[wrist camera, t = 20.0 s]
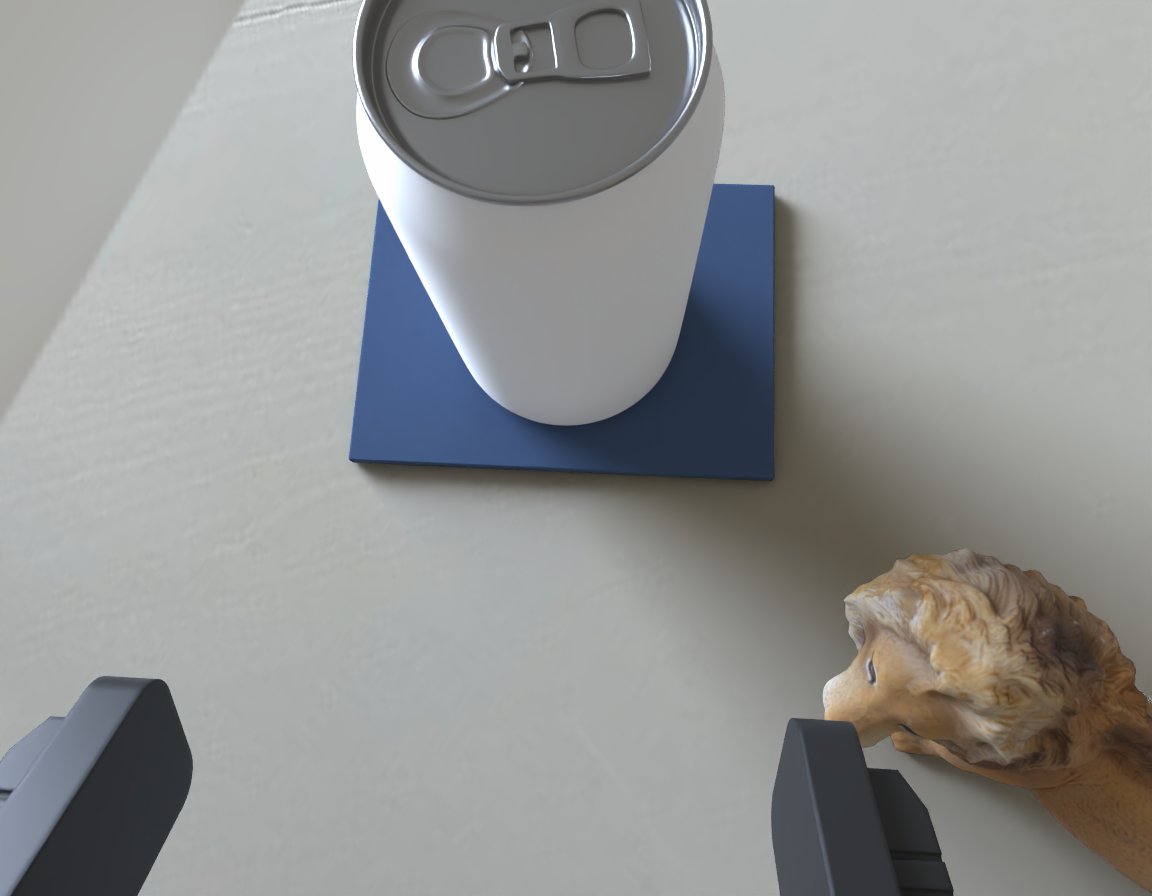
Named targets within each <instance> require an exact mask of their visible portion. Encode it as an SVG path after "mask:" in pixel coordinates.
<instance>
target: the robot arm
mask: <svg viewBox="0 0 1152 896" xmlns="http://www.w3.org/2000/svg"><path fill="white" fill-rule="evenodd" d="M192 770H193V761H192V755H191V751H190V748H189V745H188V742H187V739H186V736H185V733H184V731H183V728H182V725H181V722H180V719H179V716H178V713H177V710H176V707H175V704H174V701H173V699H172V696H171V693H170V690H169V688H168V686H167V684H166V683H165V682H164V681H163V680H160V679H146V678H128V677H111V676H102V677H99V678H97V679H96V680H94V681H93V682H92V683H91V684H90V685H89V686H88V687H87V688H86V690H85V691H84V692H83V694H82V695H81V696H80V698H79V699H78V701H77V702H76V703H75V705H74V706H73V708H72V709H71V711H70V712H69V713H68V715H67V716H66V717H49V718H48V719H47V720H46V721H44V722H43V723H42V724H41V725H39V726H38V727H37V728H36V729H34V730H33V731H32V732H31V733H29V734H28V735H27V736H26V737H24V738H23V739H22V740H20V741H19V742H18V743H17V744H15V745H14V746H13V747H12V748H10V749H9V751H8V752H7V753H6V754H5V756H4V757H3V758H2V760H1V761H0V896H137V895H138V893H139V891H140V889H141V887H142V885H143V884H144V882H145V880H146V878H147V876H148V874H149V872H150V870H151V868H152V866H153V864H154V862H155V860H156V858H157V856H158V854H159V852H160V850H161V848H162V846H163V844H164V842H165V840H166V839H167V837H168V835H169V833H170V831H171V829H172V827H173V825H174V823H175V821H176V819H177V817H178V815H179V813H180V811H181V809H182V807H183V805H184V803H185V801H186V798H187V795H188V792H189V789H190V784H191V779H192ZM771 823H772V839H773V848H774V855H775V862H776V869H777V875H778V882H779V889H780V896H953V891H954V890H953V887H952V884H951V881H950V877H949V874H948V871H947V868H946V865H945V862H942V858H941V854H942V853H941V850H940V847H939V843H938V840H937V837H936V834H935V831H934V828H933V825H932V822H931V819H930V816H929V813H928V809H927V808H926V807H925V805H924V804H923V803H922V801H921V800H920V799H919V797H918V796H917V795H916V793H915V792H914V791H913V789H912V788H911V787H910V786H909V784H908V783H907V782H906V780H905V779H904V778H903V776H902V775H901V774H900V772H899V771H898V770H891V769H874V768H867V766H866V762H865V759H864V755H863V751H862V747H861V744H860V740H859V736H858V733H857V731H856V728H855V726H854V725H853V723H852V722H849V721H833V720H816V719H798V718H791V719H790V720H789V722H788V725H787V729H786V734H785V739H784V743H783V748H782V753H781V757H780V762H779V767H778V771H777V776H776V781H775V785H774V790H773V796H772V810H771Z"/></svg>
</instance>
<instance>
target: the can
mask: <svg viewBox="0 0 1152 896" xmlns="http://www.w3.org/2000/svg"><path fill="white" fill-rule="evenodd" d="M353 68H354V76H355V82H356V86H357V90H358V95H357V131H358V138H359V143H360V148H361V152H362V155H363V158H364V162H365V165H366V168H367V171H368V174H369V176H370V179H371V181H372V183H373V186H374V188H375V190H376V192H377V194H378V196H379V199H380V201H381V203H382V205H383V207H384V209H385V211H386V213H387V215H388V217H389V219H390V221H391V223H392V225H393V227H394V229H395V231H396V233H397V235H398V237H399V239H400V241H401V242H402V244H403V246H404V248H405V250H406V252H407V254H408V256H409V258H410V260H411V262H412V264H413V266H414V268H415V270H416V271H417V273H418V275H419V277H420V279H421V281H422V283H423V285H424V287H425V289H426V291H427V293H428V294H429V296H430V298H431V300H432V302H433V304H434V306H435V308H436V310H437V312H438V314H439V316H440V317H441V319H442V321H443V323H444V325H445V327H446V329H447V331H448V333H449V335H450V336H451V338H452V340H453V342H454V344H455V346H456V348H457V350H458V351H459V353H460V355H461V357H462V359H463V361H464V362H465V364H466V366H467V368H468V369H469V371H470V373H471V374H472V376H473V377H474V379H475V380H476V382H477V383H478V384H479V385H480V387H481V388H482V389H483V390H484V391H485V392H486V393H487V394H488V395H489V396H490V397H491V398H492V399H493V400H495V401H496V402H497V403H499V404H500V405H501V406H503V407H504V408H506V409H508V410H509V411H511V412H513V413H515V414H517V415H519V416H521V417H524V418H526V419H529V420H532V421H536V422H540V423H545V424H551V425H564V426H568V425H582V424H588V423H593V422H597V421H600V420H604V419H607V418H609V417H612V416H614V415H616V414H618V413H620V412H622V411H624V410H626V409H627V408H629V407H631V406H632V405H634V404H635V403H636V402H638V401H639V400H640V399H641V398H643V397H644V396H645V395H646V394H647V393H648V392H649V391H650V390H651V389H652V388H653V387H654V386H655V384H656V383H657V382H658V381H659V379H660V378H661V376H662V375H663V373H664V372H665V370H666V368H667V367H668V365H669V363H670V361H671V358H672V356H673V354H674V351H675V348H676V345H677V341H678V338H679V334H680V330H681V326H682V322H683V318H684V314H685V309H686V305H687V301H688V296H689V292H690V287H691V283H692V279H693V274H694V270H695V265H696V261H697V256H698V252H699V247H700V243H701V238H702V234H703V229H704V225H705V220H706V215H707V211H708V206H709V201H710V197H711V192H712V188H713V183H714V178H715V173H716V168H717V163H718V158H719V153H720V147H721V141H722V135H723V127H724V113H725V94H724V83H723V77H722V71H721V67H720V63H719V60H718V57H717V54H716V51H715V48H714V45H713V34H712V23H711V17H710V12H709V8H708V4H707V1H706V0H363V3H362V5H361V8H360V11H359V15H358V18H357V22H356V27H355V32H354V40H353Z"/></svg>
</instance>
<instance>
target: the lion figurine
mask: <svg viewBox="0 0 1152 896" xmlns="http://www.w3.org/2000/svg"><path fill="white" fill-rule="evenodd" d="M844 602H845V603H846V612H845V614H846V618H847V620H848V621H849V623H850V625H849V635H850V637H851V638H852V639H853V640H854V641H855V643H856V646H857V649H858V652H859V653H858V655H857V656H856V658H855V659H854V660H853V662H852V663H851V664H850V666H849V667H848V668H847V669H846V670H845V671H844V672H843V673H841V674H839V675H837V676H835V677H833V678H832V679H831V680H829V681H828V682H827V683H826V685H825V687H824V690H823V703H824V707H825V715H824V720H833V721H849V722H852V723H853V725H854V726H855V728H856V731H857V733H858V736H859V740H860V744H861V747H869V746H873V745H875V744H877V743H878V742H880V741H881V740H883V739H885V738H886V737H888V736H891V737H892V739H893V744H894V747H895V748H896V749H897V750H899V751H903V752H908V753H918V754H926V755H931V756H941V757H942V758H943V759H945V760H946V761H948V762H949V763H951V764H952V765H954V766H956V767H957V768H959V769H962V770H964V771H968V772H973V773H977V774H981V775H983V776H985V777H987V778H990V779H993V780H996V781H999V782H1002V783H1007V784H1011V785H1015V786H1019V787H1024V788H1030V790H1031V791H1032V793H1033V794H1034V795H1035V797H1036V798H1037V799H1038V800H1039V801H1040V803H1041V804H1042V805H1043V806H1044V807H1045V808H1046V809H1047V810H1048V811H1049V812H1050V813H1051V815H1052V816H1053V817H1054V818H1055V819H1056V820H1057V821H1058V822H1059V823H1060V824H1062V825H1063V826H1064V827H1065V828H1066V829H1067V830H1068V831H1070V832H1071V833H1072V834H1073V835H1074V836H1075V837H1076V838H1078V839H1079V840H1080V841H1081V842H1082V843H1083V844H1085V845H1086V846H1087V847H1088V848H1090V849H1091V850H1092V851H1094V852H1095V853H1096V854H1098V855H1099V856H1100V857H1102V858H1103V859H1104V860H1106V861H1107V862H1108V863H1109V864H1110V865H1112V866H1113V867H1114V868H1115V869H1116V870H1118V871H1119V872H1120V873H1121V874H1123V875H1124V876H1126V877H1127V878H1129V879H1130V880H1132V881H1133V882H1135V883H1136V884H1138V885H1139V886H1141V887H1143V888H1144V889H1146V890H1148V891H1149V892H1151V893H1152V704H1151V703H1150V702H1149V701H1148V700H1147V698H1146V696H1145V695H1144V694H1143V693H1142V692H1140V691H1139V690H1138V689H1137V688H1136V687H1135V685H1134V684H1135V674H1136V669H1135V666H1134V663H1133V662H1132V661H1131V660H1130V659H1128V658H1126V657H1125V656H1124V655H1123V654H1122V653H1121V651H1120V647H1119V644H1118V641H1117V638H1116V637H1115V635H1114V634H1113V632H1112V631H1111V629H1110V628H1109V626H1108V625H1107V624H1106V623H1105V622H1104V621H1102V620H1101V619H1099V618H1097V617H1096V616H1094V615H1093V614H1092V613H1090V612H1088V611H1087V608H1086V605H1085V603H1084V600H1082V599H1081V598H1079V597H1076V596H1067V595H1066V593H1065V592H1064V591H1063V590H1062V589H1061V588H1060V587H1058V586H1057V585H1053V584H1050V583H1048V582H1047V580H1046V579H1045V578H1044V577H1043V575H1042V574H1041V573H1040V572H1038V571H1036V570H1028V571H1021V570H1020V569H1019V568H1018V567H1016V566H1014V565H1011V564H1004V565H1002V564H1001V563H1000V561H999V560H998V559H996V558H995V557H991V556H984V555H979V554H976V553H975V552H974V551H972V550H971V549H968V548H963V549H961V550H953V551H951V552H949V553H947V554H945V555H940V554H926V555H915V554H913V555H911V556H910V557H908V558H907V559H897V560H896V561H895V563H894V566H893V568H892V570H891V571H889V572H887V573H885V574H882V575H879V576H878V577H876V578H875V579H874V580H872V581H871V582H870V583H866V584H863V585H861V586H859V587H858V588H857V589H856V590H855V591H854V592H853V593H852V594H850V595H848V596H847V597H846V598H845V599H844Z"/></svg>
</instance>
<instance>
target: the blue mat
mask: <svg viewBox="0 0 1152 896" xmlns="http://www.w3.org/2000/svg"><path fill="white" fill-rule="evenodd" d="M349 460H350V461H352V462H356V463H379V464H401V465H424V466H447V467H469V468H492V469H515V470H537V471H560V472H583V473H606V474H628V475H651V476H674V477H696V478H719V479H742V480H764V481H771V480H772V479H773V478H774V186H773V185H739V184H713V188H712V192H711V197H710V201H709V206H708V211H707V215H706V220H705V225H704V229H703V234H702V238H701V243H700V247H699V252H698V256H697V261H696V265H695V270H694V274H693V279H692V283H691V287H690V292H689V296H688V301H687V305H686V309H685V314H684V318H683V322H682V326H681V330H680V334H679V338H678V341H677V345H676V348H675V351H674V354H673V356H672V358H671V361H670V363H669V365H668V367H667V368H666V370H665V372H664V373H663V375H662V376H661V378H660V379H659V381H658V382H657V383H656V384H655V386H654V387H653V388H652V389H651V390H650V391H649V392H648V393H647V394H646V395H645V396H644V397H643V398H641V399H640V400H639V401H638V402H636V403H635V404H634V405H632V406H631V407H629V408H627V409H626V410H624V411H622V412H620V413H618V414H616V415H614V416H612V417H609V418H607V419H604V420H600V421H597V422H593V423H588V424H582V425H568V426H564V425H551V424H545V423H540V422H536V421H532V420H529V419H526V418H524V417H521V416H519V415H517V414H515V413H513V412H511V411H509V410H508V409H506V408H504V407H503V406H501V405H500V404H499V403H497V402H496V401H495V400H493V399H492V398H491V397H490V396H489V395H488V394H487V393H486V392H485V391H484V390H483V389H482V388H481V387H480V385H479V384H478V383H477V382H476V380H475V379H474V377H473V376H472V374H471V373H470V371H469V369H468V368H467V366H466V364H465V362H464V361H463V359H462V357H461V355H460V353H459V351H458V350H457V348H456V346H455V344H454V342H453V340H452V338H451V336H450V335H449V333H448V331H447V329H446V327H445V325H444V323H443V321H442V319H441V317H440V316H439V314H438V312H437V310H436V308H435V306H434V304H433V302H432V300H431V298H430V296H429V294H428V293H427V291H426V289H425V287H424V285H423V283H422V281H421V279H420V277H419V275H418V273H417V271H416V270H415V268H414V266H413V264H412V262H411V260H410V258H409V256H408V254H407V252H406V250H405V248H404V246H403V244H402V242H401V241H400V239H399V237H398V235H397V233H396V231H395V229H394V227H393V225H392V223H391V221H390V219H389V217H388V215H387V213H386V211H385V209H384V207H383V205H382V203H381V201H380V199H379V201H378V210H377V219H376V227H375V236H374V245H373V253H372V262H371V271H370V279H369V288H368V297H367V305H366V314H365V323H364V331H363V340H362V349H361V357H360V366H359V375H358V383H357V392H356V401H355V409H354V418H353V427H352V435H351V444H350V453H349Z"/></svg>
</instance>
